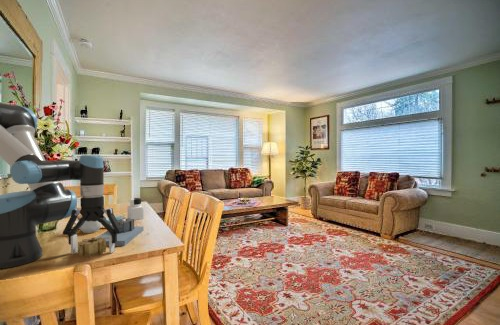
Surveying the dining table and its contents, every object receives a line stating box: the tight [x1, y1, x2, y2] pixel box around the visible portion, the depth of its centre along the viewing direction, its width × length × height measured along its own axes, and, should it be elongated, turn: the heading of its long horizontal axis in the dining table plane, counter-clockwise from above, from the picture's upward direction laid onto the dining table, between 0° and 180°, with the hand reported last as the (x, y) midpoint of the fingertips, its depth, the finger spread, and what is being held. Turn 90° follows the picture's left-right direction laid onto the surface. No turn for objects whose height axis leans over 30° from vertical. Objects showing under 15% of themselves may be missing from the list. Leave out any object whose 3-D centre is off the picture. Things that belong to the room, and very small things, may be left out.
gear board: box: [95, 218, 144, 247], centre depth 115 cm, size 14×22×7 cm, turn 4°
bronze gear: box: [77, 236, 107, 258], centre depth 97 cm, size 9×9×4 cm
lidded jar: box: [76, 214, 103, 234], centre depth 125 cm, size 11×11×9 cm
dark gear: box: [117, 217, 135, 233], centre depth 120 cm, size 9×9×4 cm
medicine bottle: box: [126, 197, 145, 221], centre depth 151 cm, size 7×7×12 cm
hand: (93, 252), depth 97 cm, fingers open, 13 cm apart
